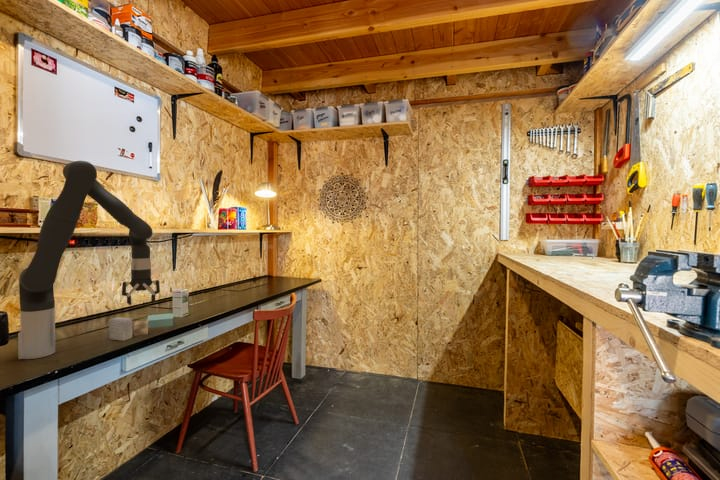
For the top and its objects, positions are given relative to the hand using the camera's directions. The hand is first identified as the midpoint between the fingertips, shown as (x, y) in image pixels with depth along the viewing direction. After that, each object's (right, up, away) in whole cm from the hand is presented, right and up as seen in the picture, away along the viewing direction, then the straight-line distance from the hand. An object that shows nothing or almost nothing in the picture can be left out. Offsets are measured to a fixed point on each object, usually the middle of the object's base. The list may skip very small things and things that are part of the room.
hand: (141, 303), depth 151 cm
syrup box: (+1, -13, +31) cm, 33 cm away
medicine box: (-4, -14, -7) cm, 16 cm away
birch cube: (0, -14, 0) cm, 14 cm away
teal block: (0, -13, +15) cm, 20 cm away
